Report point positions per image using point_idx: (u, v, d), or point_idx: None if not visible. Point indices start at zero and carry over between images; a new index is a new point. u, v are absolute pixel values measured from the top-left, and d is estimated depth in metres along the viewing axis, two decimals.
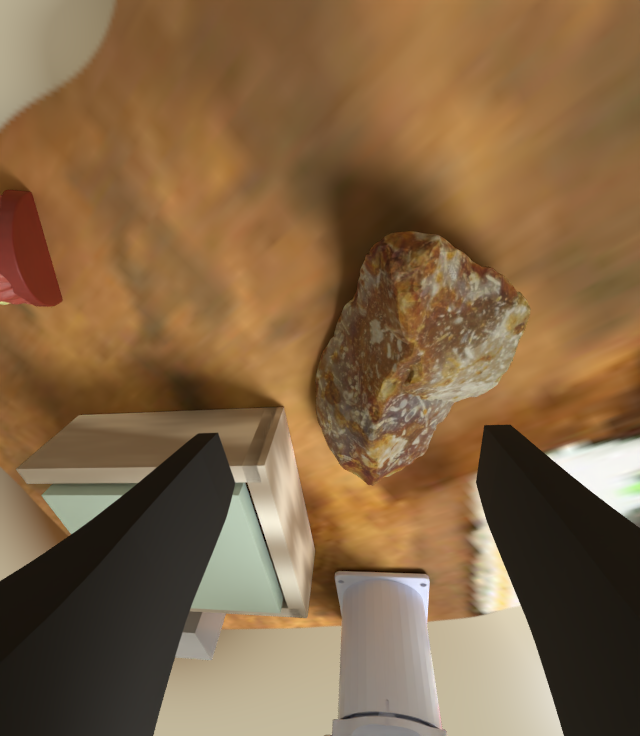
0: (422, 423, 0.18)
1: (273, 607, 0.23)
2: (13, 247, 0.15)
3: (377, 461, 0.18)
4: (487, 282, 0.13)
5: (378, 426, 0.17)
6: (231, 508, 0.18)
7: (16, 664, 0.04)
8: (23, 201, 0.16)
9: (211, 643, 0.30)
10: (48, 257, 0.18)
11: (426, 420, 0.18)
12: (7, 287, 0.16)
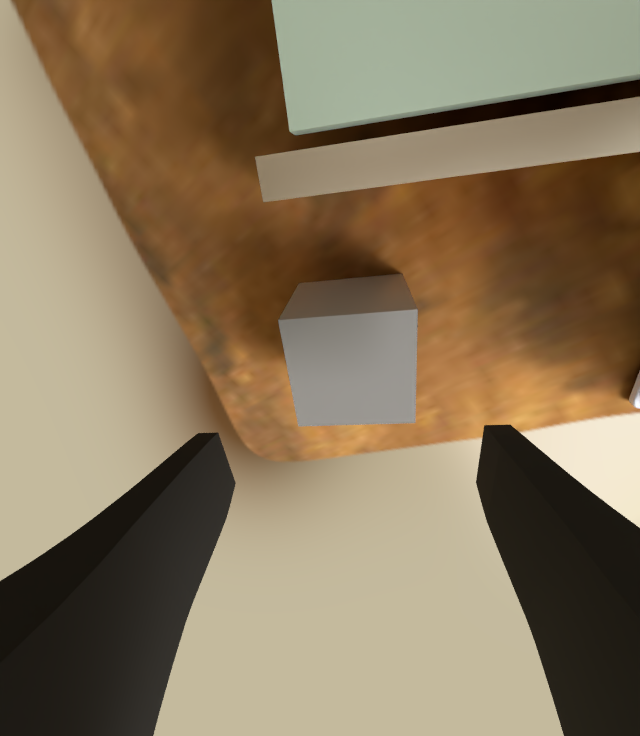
0: None
1: None
2: None
3: None
4: None
5: None
6: None
7: (16, 664, 0.04)
8: None
9: None
10: None
11: None
12: None
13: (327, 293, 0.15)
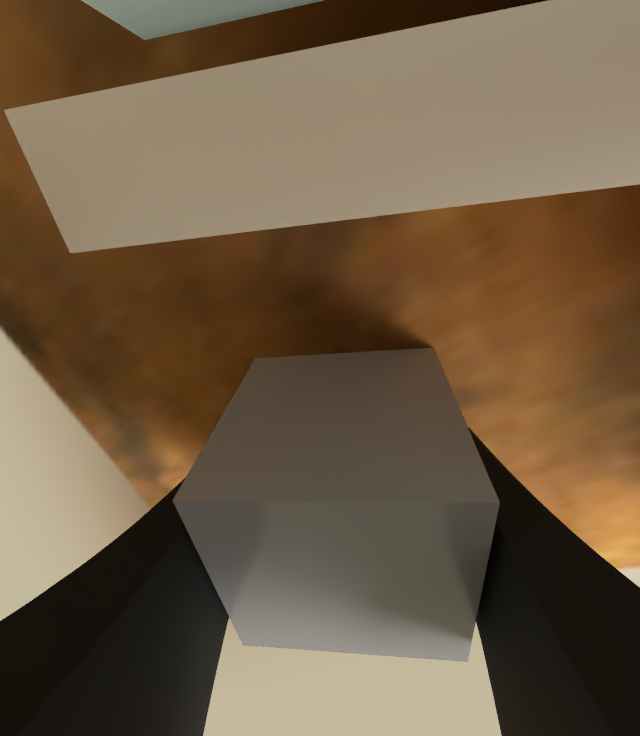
0: None
1: None
2: None
3: None
4: None
5: None
6: None
7: (87, 670, 0.04)
8: None
9: None
10: None
11: None
12: None
13: (296, 399, 0.08)
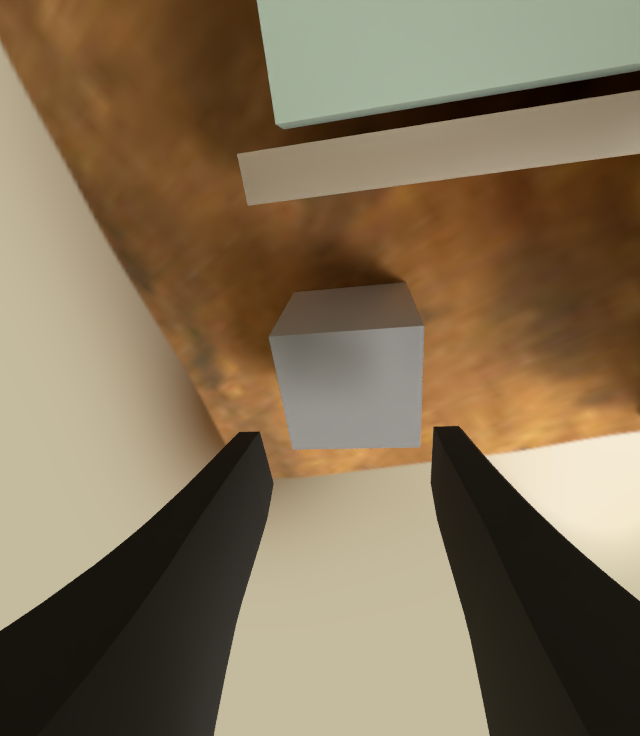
0: None
1: None
2: None
3: None
4: None
5: None
6: None
7: (104, 672, 0.04)
8: None
9: None
10: None
11: None
12: None
13: (323, 305, 0.13)
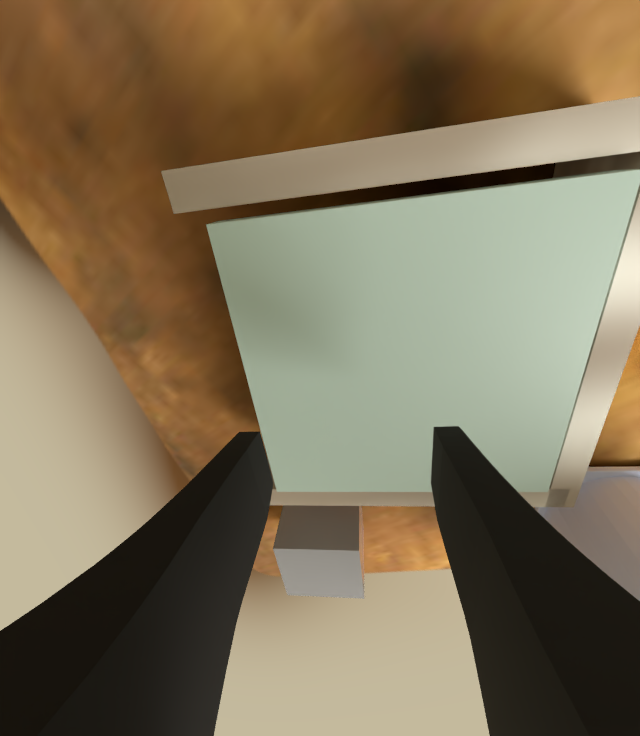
0: None
1: (543, 479, 0.14)
2: None
3: None
4: None
5: None
6: (603, 216, 0.09)
7: (103, 672, 0.04)
8: None
9: None
10: None
11: None
12: None
13: (306, 508, 0.22)
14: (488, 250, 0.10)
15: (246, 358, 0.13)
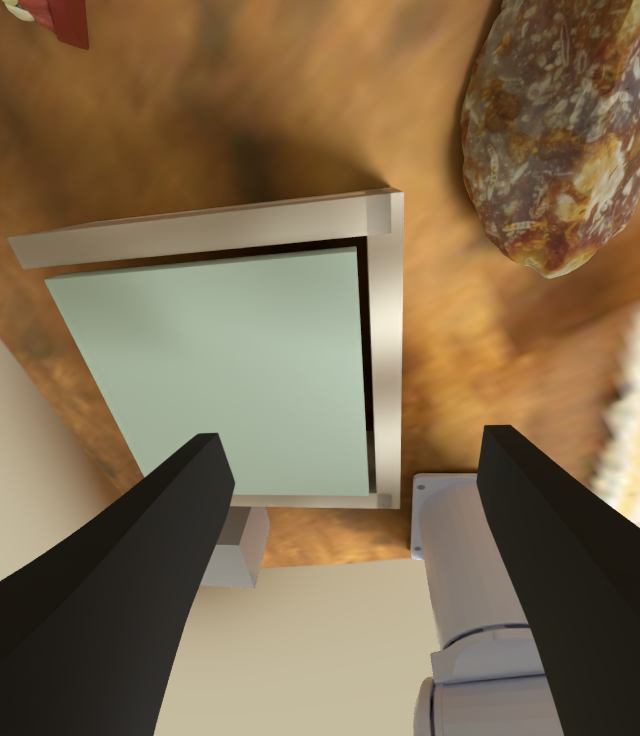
0: None
1: (362, 485, 0.17)
2: None
3: (591, 195, 0.12)
4: None
5: (610, 105, 0.10)
6: (338, 283, 0.12)
7: (16, 664, 0.04)
8: None
9: (254, 567, 0.24)
10: None
11: None
12: None
13: None
14: (262, 305, 0.13)
15: (100, 383, 0.15)
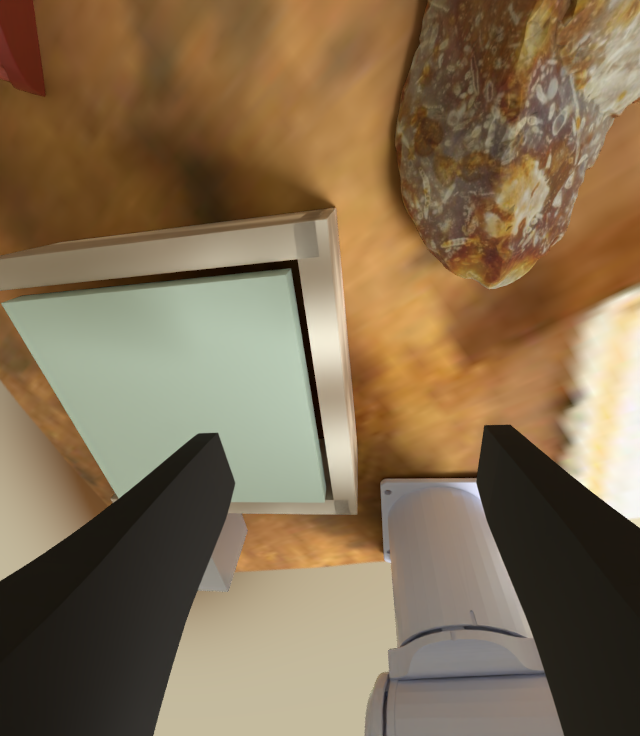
0: (572, 150, 0.12)
1: (316, 492, 0.17)
2: None
3: (514, 213, 0.12)
4: None
5: (518, 130, 0.11)
6: (273, 304, 0.13)
7: (16, 664, 0.04)
8: None
9: (227, 571, 0.25)
10: (33, 18, 0.13)
11: (577, 147, 0.12)
12: None
13: None
14: (205, 325, 0.13)
15: (61, 397, 0.16)
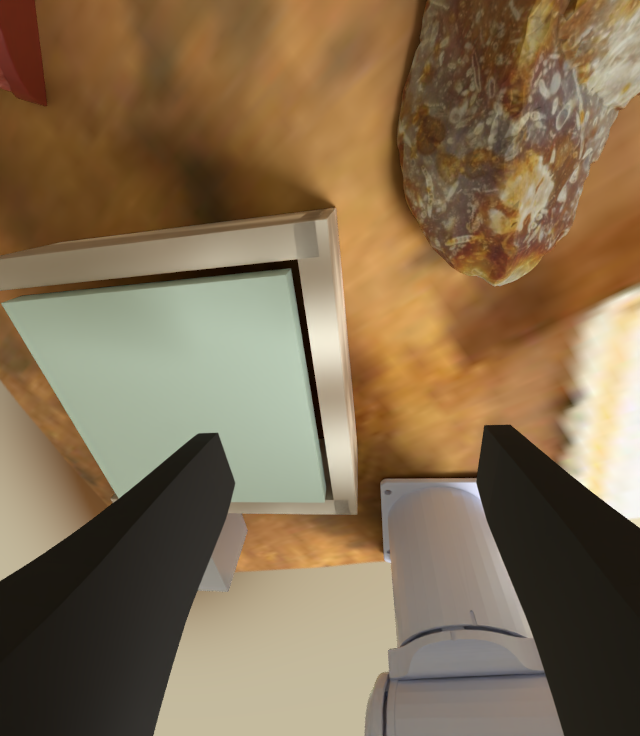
0: (576, 145, 0.12)
1: (316, 492, 0.17)
2: None
3: (518, 209, 0.12)
4: None
5: (521, 125, 0.11)
6: (273, 304, 0.13)
7: (16, 664, 0.04)
8: None
9: (227, 571, 0.25)
10: (36, 30, 0.14)
11: (581, 141, 0.12)
12: None
13: None
14: (205, 325, 0.13)
15: (61, 397, 0.16)
